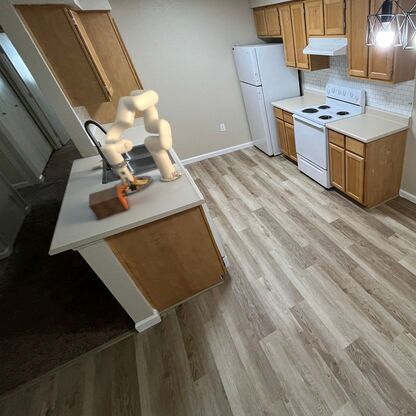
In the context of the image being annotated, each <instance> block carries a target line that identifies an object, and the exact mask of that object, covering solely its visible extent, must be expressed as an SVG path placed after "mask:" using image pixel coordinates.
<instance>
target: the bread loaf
mask: <svg viewBox="0 0 416 416" xmlns="http://www.w3.org/2000/svg"><path fill="white" fill-rule="evenodd" d="M131 174H132V176H133V179H134V181H133V183H134V184H135V183H138V182H137V179H136V178H135V177H136V176H135V174H134V173H131ZM119 178H120V182H122V183H123V185H124V186H128V184H125V183H124V181H123V180H122V178H121V177H119Z"/></svg>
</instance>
